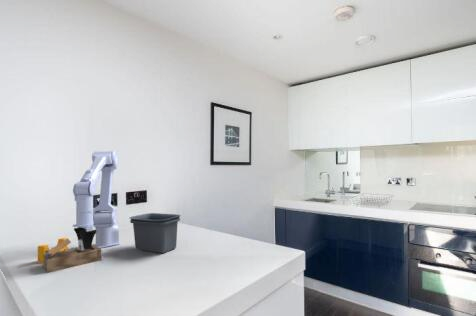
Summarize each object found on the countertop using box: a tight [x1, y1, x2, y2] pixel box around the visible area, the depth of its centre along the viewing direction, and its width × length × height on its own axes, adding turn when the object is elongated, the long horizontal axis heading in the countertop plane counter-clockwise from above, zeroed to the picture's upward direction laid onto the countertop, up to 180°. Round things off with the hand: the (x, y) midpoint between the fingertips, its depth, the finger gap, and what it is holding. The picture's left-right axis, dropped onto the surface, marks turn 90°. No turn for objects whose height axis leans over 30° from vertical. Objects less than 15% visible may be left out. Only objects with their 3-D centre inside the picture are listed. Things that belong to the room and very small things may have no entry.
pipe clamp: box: [37, 237, 68, 264], centre depth 107 cm, size 12×4×6 cm, turn 174°
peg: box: [77, 239, 90, 253], centre depth 102 cm, size 4×4×8 cm
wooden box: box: [43, 244, 102, 273], centre depth 100 cm, size 17×10×6 cm, turn 133°
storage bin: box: [129, 212, 182, 254], centre depth 115 cm, size 21×16×14 cm
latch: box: [45, 238, 72, 257], centre depth 97 cm, size 8×4×1 cm
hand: (84, 247), depth 102 cm, fingers open, 7 cm apart
